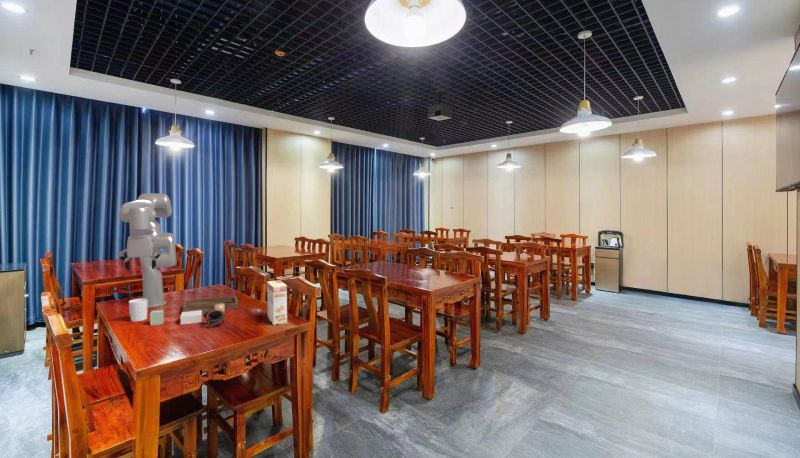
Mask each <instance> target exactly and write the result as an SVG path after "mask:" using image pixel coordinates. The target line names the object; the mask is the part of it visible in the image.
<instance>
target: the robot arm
mask: <svg viewBox="0 0 800 458" xmlns="http://www.w3.org/2000/svg"><path fill="white" fill-rule="evenodd" d="M171 203H172V202H171V199H170V197H169V195H167V194H166V193H155V192H151V193H150V192H145V193H141V194H140V195H139V196H138V198H137V199H136V200H132V201H128V202H125V203H123V204H122V205H121V207H120V209H119V211H118V212H119V214H118V216H119V217H118V218H119V219H120V220H121V221H122V222H123V223H129V236H128V237H127V240H126V241H127V242H126V248H125V249H122V250H121V251H119V252H117V256H118V257H119V258H120V259H121V260H122V261H123V262H124V263H125V266H124V267H125V269H126V271H129V270H131V261H130V260H131V259H132V258H139V261H140V263H139V264H140V267H141V276H142V297H143V298H145V299H148V308H147V309H149V308H151V309H152V308H157V307H163V306H165V305H167V301H166V300H164V292H163V290H164V289H163V288H164V287H163V274H162V272H161V271H160V270H159V268H170V267H174V266H175V265H176V263H177V255H176V254H177V253H176V236H175V235H174V234H173V233H171V232H161V224H160V223H159V221H157V220H156V218H169V217H171V215H172V213H173V212H172V211H173V209H172V204H171ZM124 253H126V256H127V257H126V256H125V255H124Z"/></svg>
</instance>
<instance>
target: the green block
mask: <svg viewBox="0 0 800 458" xmlns="http://www.w3.org/2000/svg"><path fill="white" fill-rule="evenodd" d="M164 316H165V315H164V309H157V310H156V309H155V310H151V311H150V313H149V321H150V322H149V323H150V326H157V325H163V324H164V320H165V318H164Z"/></svg>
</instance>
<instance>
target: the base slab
mask: <svg viewBox="0 0 800 458" xmlns="http://www.w3.org/2000/svg"><path fill="white" fill-rule="evenodd" d="M202 319H203V313H202V310H199V311H189V312H183V311H182V312H181V314H180V325H187V324H188V325H189V324H196V323H202Z"/></svg>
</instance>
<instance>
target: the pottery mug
mask: <svg viewBox="0 0 800 458" xmlns="http://www.w3.org/2000/svg"><path fill="white" fill-rule="evenodd" d="M203 317H204V319H205V321H206V327H207V328H209V329H210V327H213V326H217V325H219V324H222V322H223V323H225V322H226V318H225V317H226V314H225V313H224V314H223V312H222V311H220V310H213V311H211V312H205V313H203Z"/></svg>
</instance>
